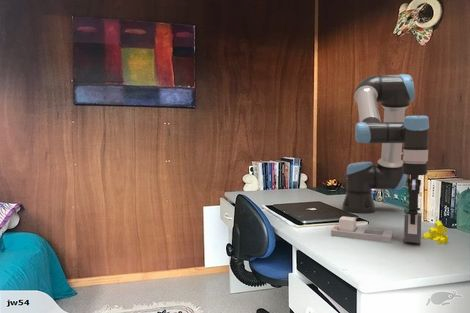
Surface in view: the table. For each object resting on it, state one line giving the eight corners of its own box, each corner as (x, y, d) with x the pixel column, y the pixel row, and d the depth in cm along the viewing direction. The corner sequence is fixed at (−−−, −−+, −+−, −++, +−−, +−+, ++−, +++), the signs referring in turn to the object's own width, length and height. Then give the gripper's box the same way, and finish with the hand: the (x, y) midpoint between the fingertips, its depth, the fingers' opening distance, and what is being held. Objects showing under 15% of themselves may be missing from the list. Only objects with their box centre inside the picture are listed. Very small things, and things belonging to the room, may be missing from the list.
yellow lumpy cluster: (420, 239, 138) (420, 218, 137) (442, 239, 138) (443, 218, 137) (427, 244, 132) (428, 222, 131) (451, 244, 132) (452, 222, 131)
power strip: (335, 233, 145) (335, 224, 145) (392, 240, 136) (392, 230, 136) (331, 239, 138) (331, 229, 138) (390, 246, 129) (391, 236, 129)
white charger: (341, 232, 143) (342, 216, 142) (355, 233, 141) (355, 217, 140) (339, 235, 138) (339, 219, 138) (353, 237, 136) (353, 220, 136)
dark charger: (404, 237, 132) (405, 211, 132) (420, 239, 130) (421, 213, 129) (403, 241, 128) (404, 214, 127) (420, 243, 126) (421, 216, 125)
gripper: (404, 159, 137) (402, 224, 138) (400, 164, 121) (398, 237, 122) (427, 160, 133) (425, 226, 135) (427, 165, 117) (425, 240, 119)
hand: (412, 231), depth 129 cm, fingers closed on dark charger, 5 cm apart
